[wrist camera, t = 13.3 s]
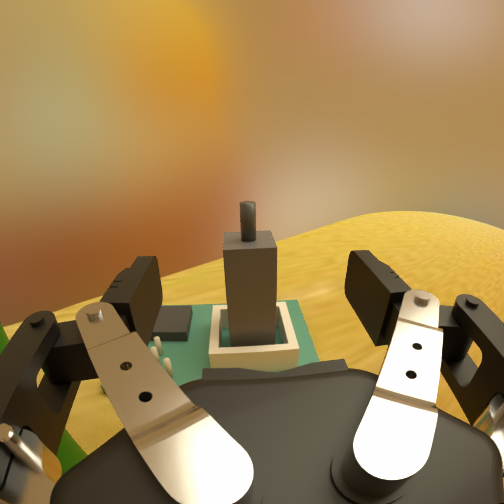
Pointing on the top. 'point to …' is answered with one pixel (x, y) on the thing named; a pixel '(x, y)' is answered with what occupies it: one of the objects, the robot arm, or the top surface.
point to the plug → (250, 282)
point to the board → (225, 341)
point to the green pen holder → (68, 447)
